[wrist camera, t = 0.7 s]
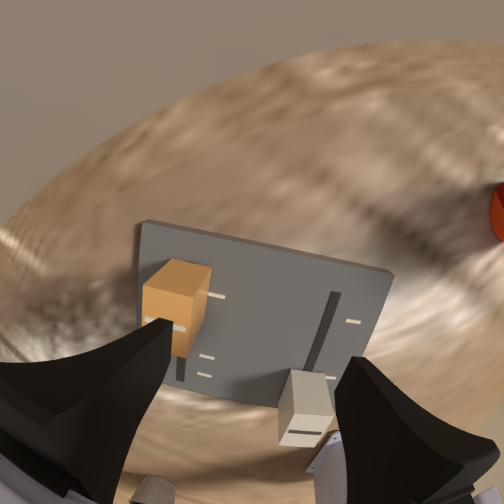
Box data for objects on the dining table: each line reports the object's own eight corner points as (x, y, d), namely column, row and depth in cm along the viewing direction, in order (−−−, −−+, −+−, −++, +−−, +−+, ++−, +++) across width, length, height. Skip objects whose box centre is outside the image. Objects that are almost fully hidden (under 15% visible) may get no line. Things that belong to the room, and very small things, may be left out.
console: (329, 404, 23) (331, 413, 22) (143, 367, 23) (138, 376, 22) (388, 270, 19) (394, 276, 18) (149, 219, 19) (141, 222, 18)
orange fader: (204, 319, 19) (186, 359, 15) (167, 309, 19) (141, 346, 15) (212, 267, 18) (193, 298, 14) (172, 258, 18) (142, 285, 14)
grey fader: (309, 405, 21) (314, 448, 16) (278, 402, 21) (278, 445, 16) (324, 373, 20) (334, 417, 15) (291, 369, 20) (294, 414, 15)
